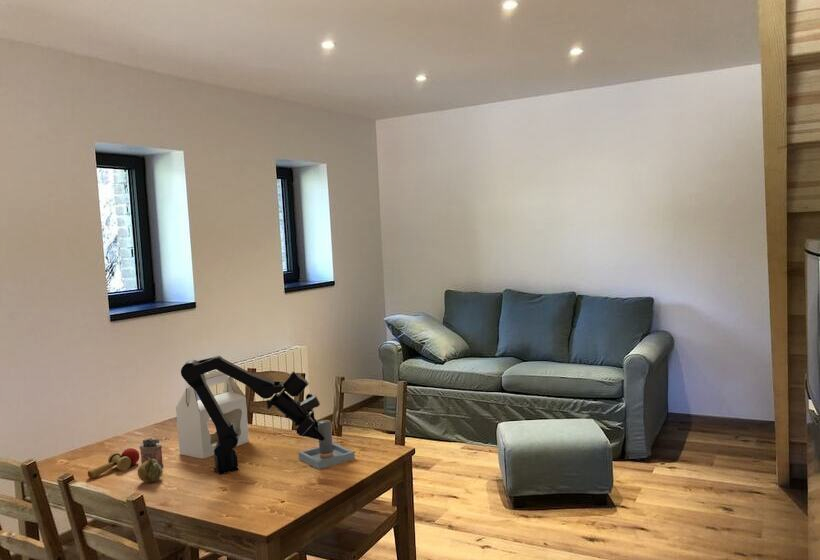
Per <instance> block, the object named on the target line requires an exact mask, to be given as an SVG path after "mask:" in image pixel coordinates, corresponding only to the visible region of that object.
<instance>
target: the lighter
mask: <svg viewBox="0 0 820 560" xmlns="http://www.w3.org/2000/svg"><path fill="white" fill-rule="evenodd" d="M159 443H160V439H159V438H152V437H149V438H148V439H147V438H143V439H142V444H141V445H139V449H140V461H141V464H142V463H144V462H146V461H148V460H149V459H148V458H150V459H155V460H157V462H158V464H159V465H160V466H161V468H162V469H163V468H164V463H163V453H162V449H163V448H162V446H163V445H162V444H159Z"/></svg>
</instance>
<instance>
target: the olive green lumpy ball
mask: <svg viewBox="0 0 820 560" xmlns="http://www.w3.org/2000/svg"><path fill="white" fill-rule="evenodd" d="M148 459H149V460H148V461H146V462H144V463H141V464H140V465H139V467H138V470H137V476H138V478H139V480H141V481H143V482H145V483H147V484H149V483H153V482H156V481H159V479H160V478H161V477H162V476H163V475H162V474H163V467H162V468H161V466H160V465H159V464H158V462H157V460H155V459H150V458H148Z"/></svg>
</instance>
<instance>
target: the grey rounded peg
mask: <svg viewBox="0 0 820 560" xmlns="http://www.w3.org/2000/svg"><path fill="white" fill-rule="evenodd" d="M317 422H318V431H319V432H320V433H321V434H322V435H323V437H324V438H325V439H324V440H323V441H321V440H318V447H319V450H320V452H319V454H320V458H323V459H325V458H329V457H333V446H332V443H333V432H332V420H329V419H323V420H319V421H317Z"/></svg>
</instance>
